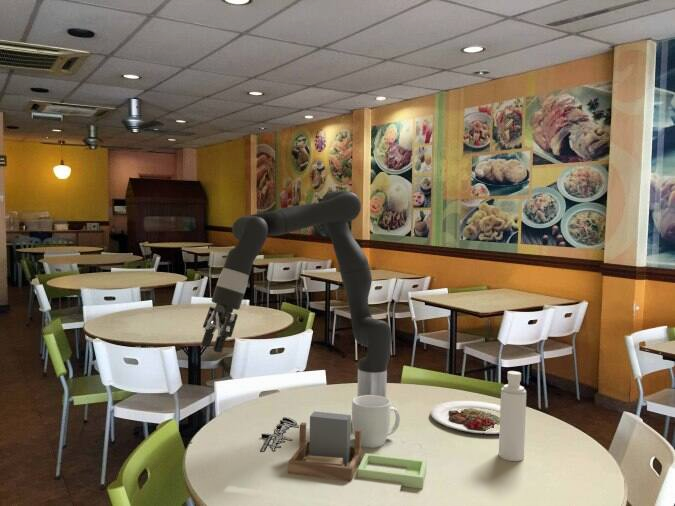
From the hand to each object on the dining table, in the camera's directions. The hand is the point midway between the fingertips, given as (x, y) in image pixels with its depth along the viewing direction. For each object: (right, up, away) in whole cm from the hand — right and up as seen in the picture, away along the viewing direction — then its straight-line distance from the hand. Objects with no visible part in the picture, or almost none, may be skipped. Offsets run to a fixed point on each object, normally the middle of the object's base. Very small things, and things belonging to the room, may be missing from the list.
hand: (210, 349), depth 143 cm
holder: (+46, -32, -2) cm, 56 cm away
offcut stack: (+29, -30, -3) cm, 42 cm away
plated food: (+78, -31, +40) cm, 93 cm away
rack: (+30, -31, +1) cm, 43 cm away
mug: (+43, -31, +17) cm, 56 cm away
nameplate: (+15, -30, +22) cm, 40 cm away
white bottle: (+81, -32, +11) cm, 87 cm away
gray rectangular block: (+30, -30, +4) cm, 43 cm away
